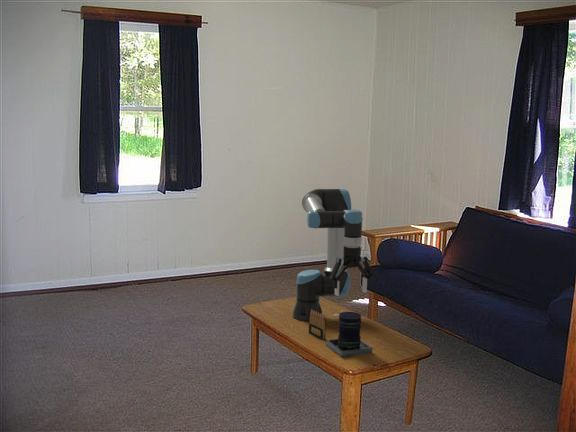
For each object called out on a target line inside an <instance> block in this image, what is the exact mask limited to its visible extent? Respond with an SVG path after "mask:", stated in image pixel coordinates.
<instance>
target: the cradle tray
mask: <svg viewBox="0 0 576 432" xmlns="http://www.w3.org/2000/svg"><path fill="white" fill-rule="evenodd" d="M360 340H361V342H360V348H359V349H352V350H345V351H342V350H341V349H340V348H338V338H332V339H325V347H327V348H328V349H330V350H331V351H333V352H334V353H335V354H336V355H338V356H339V357H340V358H349V357H355V356H360V355H368V354H373V346H371V345H370V344H368V343H366V341H363V339H360Z"/></svg>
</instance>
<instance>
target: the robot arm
mask: <svg viewBox="0 0 576 432" xmlns="http://www.w3.org/2000/svg"><path fill="white" fill-rule="evenodd" d="M301 206H302V208H303V210H304V211H305V212H306V213H307V217H306V222H307V227H308V228H309V229H316V230H317V229H327V239H326V241H327V245H326V246H327V247H326V248H327V249H326V251H327V252H326V257H327V258H326V267H325V268H324V269H323V272H322V273H321V271H320V270H318V269H308V270H307V269H306V270H303V271H302V270H301V271H300V272H299V273H298V274H297V275H296V282H295V283H296V297H295V298H296V299H295V300H296V302H295V304H294V307H293V310H292V318H294V319H296V320H298V321H299V320H300V321H305V322H308V321H309V322H310V313H311V309H312V310H313V311H314V310H315V313H316V311H317V314H318V312H319V313H320V314H321V313H322V314H323V309H322V306H321V303H320V298H321V297H338V298H339V297H345V296H347V295H348V294H349V291H350V287H351V273H349V272H348V269H351V268H357V269H358V270H359V271H360V273H361V274H362V275H363V276H362V285H361V286H362V288H361V291H362V292H363V293H365V294H367V293H368V285H369V282H370V279H371V277H373V276H374V274H373V271H372V269H371V267H370V265H369V262H368V256H366V255H361V254H362V231H363V230H362V229H363V228H362V226H363V212H362V211H361V210H358V209H352V199H351V195H350V192H349V191H348V190H347V189H345V188H316V189H313V190H310V191H308V192H306V194H305V195H304V196H303V197H302V199H301ZM361 261H362V264H363V265H364V267H363V266H362V265H361V263H360V262H361Z"/></svg>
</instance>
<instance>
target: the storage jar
mask: <svg viewBox="0 0 576 432" xmlns="http://www.w3.org/2000/svg"><path fill="white" fill-rule="evenodd" d="M337 326H338V336H337V339H338V348H340V349H341V350H342V351H345V350H352V349H359V348H360V342H361V340H362V339H361V338H362V337H361V328H362V315H361V313H358V312H354V311H343V312H340V313H338V325H337ZM360 339H361V340H360Z"/></svg>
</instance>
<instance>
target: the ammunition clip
mask: <svg viewBox="0 0 576 432" xmlns="http://www.w3.org/2000/svg"><path fill="white" fill-rule="evenodd" d="M325 327H326V321H325V314H324V313H323V312H322V313H321V314H320V313H319V312H318V314H317V311H316V313H315V310H314V311H313V310H312V309H311V313H310V321H309V323H308V334H309V335H311V336H313V337H314V338H317V339H320V340H322V341H323V340H326V328H325Z"/></svg>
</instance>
